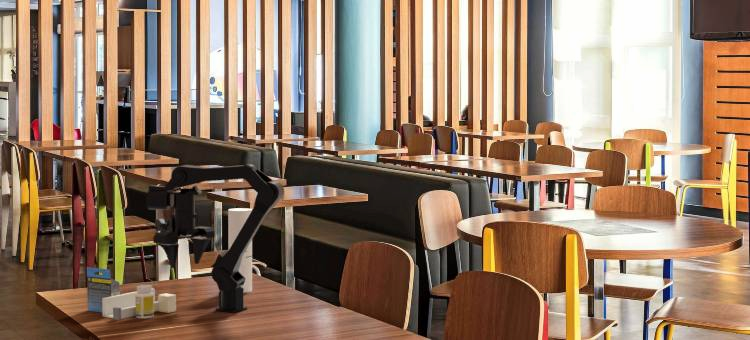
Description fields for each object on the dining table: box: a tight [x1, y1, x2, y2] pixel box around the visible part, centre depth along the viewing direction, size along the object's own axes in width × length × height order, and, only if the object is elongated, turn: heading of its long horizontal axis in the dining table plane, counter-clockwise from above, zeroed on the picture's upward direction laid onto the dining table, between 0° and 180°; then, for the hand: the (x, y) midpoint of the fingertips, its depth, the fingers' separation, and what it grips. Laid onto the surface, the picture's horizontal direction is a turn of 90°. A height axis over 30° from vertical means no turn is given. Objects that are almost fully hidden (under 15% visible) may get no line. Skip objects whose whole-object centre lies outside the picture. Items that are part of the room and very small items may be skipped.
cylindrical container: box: [227, 207, 253, 294], centre depth 322 cm, size 7×7×25 cm
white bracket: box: [101, 287, 177, 321], centre depth 289 cm, size 10×19×5 cm, turn 145°
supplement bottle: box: [135, 284, 155, 319], centre depth 284 cm, size 5×5×8 cm
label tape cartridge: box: [86, 266, 121, 313], centre depth 291 cm, size 9×4×12 cm, turn 62°
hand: (184, 265), depth 296 cm, fingers open, 9 cm apart
